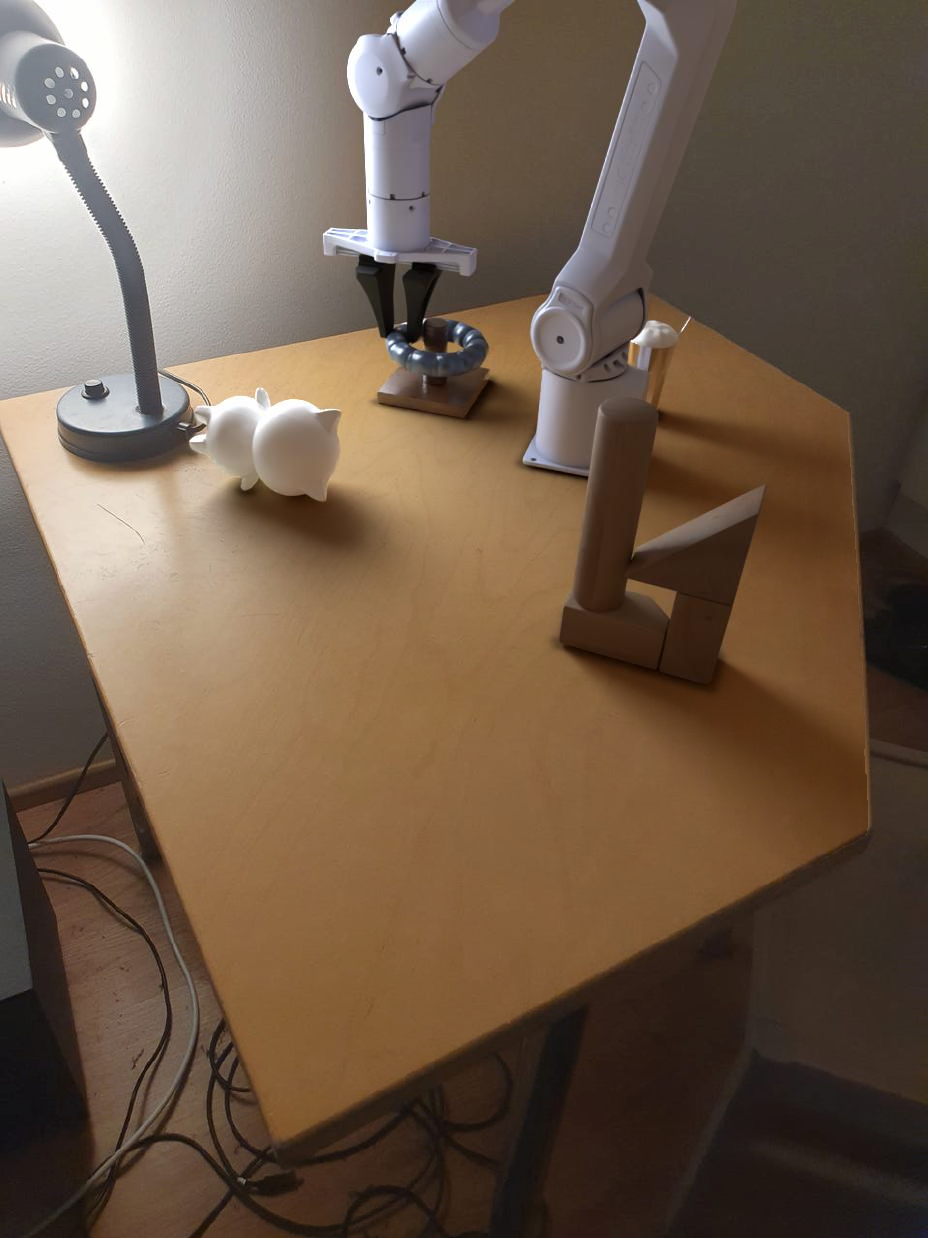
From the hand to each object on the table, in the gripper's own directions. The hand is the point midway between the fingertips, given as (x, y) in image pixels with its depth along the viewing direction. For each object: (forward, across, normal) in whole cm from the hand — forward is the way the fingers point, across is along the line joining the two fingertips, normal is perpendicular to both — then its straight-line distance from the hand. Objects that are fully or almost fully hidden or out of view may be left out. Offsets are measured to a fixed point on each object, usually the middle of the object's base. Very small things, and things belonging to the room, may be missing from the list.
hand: (400, 336), depth 90 cm
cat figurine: (+5, -4, -20) cm, 21 cm away
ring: (0, +4, 0) cm, 4 cm away
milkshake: (+5, +25, +3) cm, 25 cm away
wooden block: (+5, +30, -32) cm, 44 cm away
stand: (+5, +4, 0) cm, 6 cm away
